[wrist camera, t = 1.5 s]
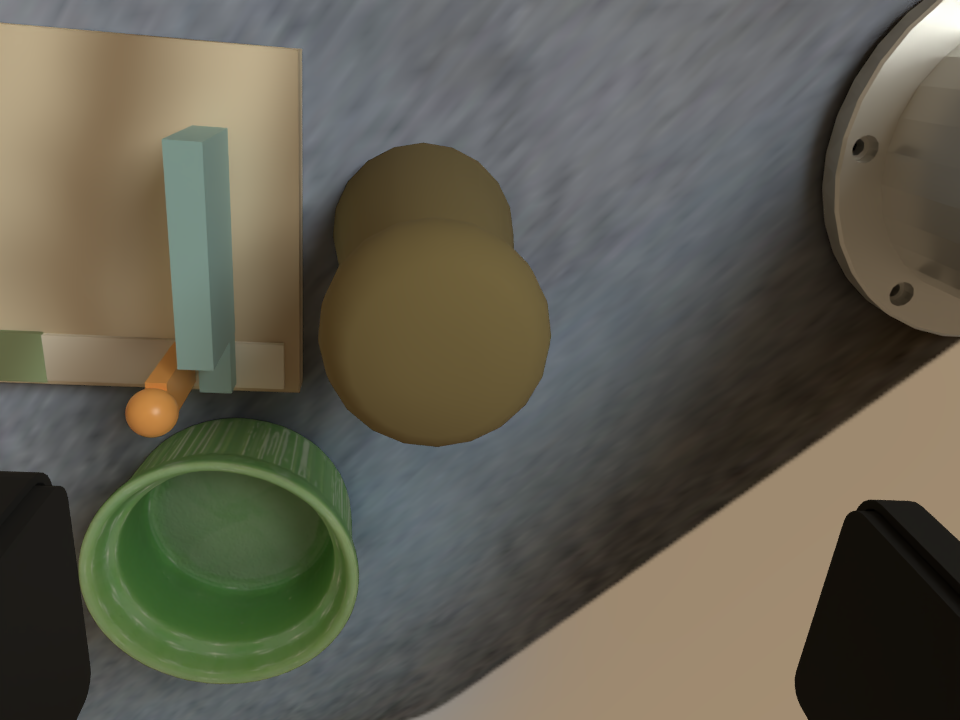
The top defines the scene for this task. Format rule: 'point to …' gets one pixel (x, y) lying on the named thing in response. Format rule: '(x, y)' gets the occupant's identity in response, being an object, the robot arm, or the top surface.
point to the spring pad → (201, 254)
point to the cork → (430, 300)
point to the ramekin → (224, 555)
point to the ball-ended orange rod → (160, 398)
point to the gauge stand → (140, 202)
